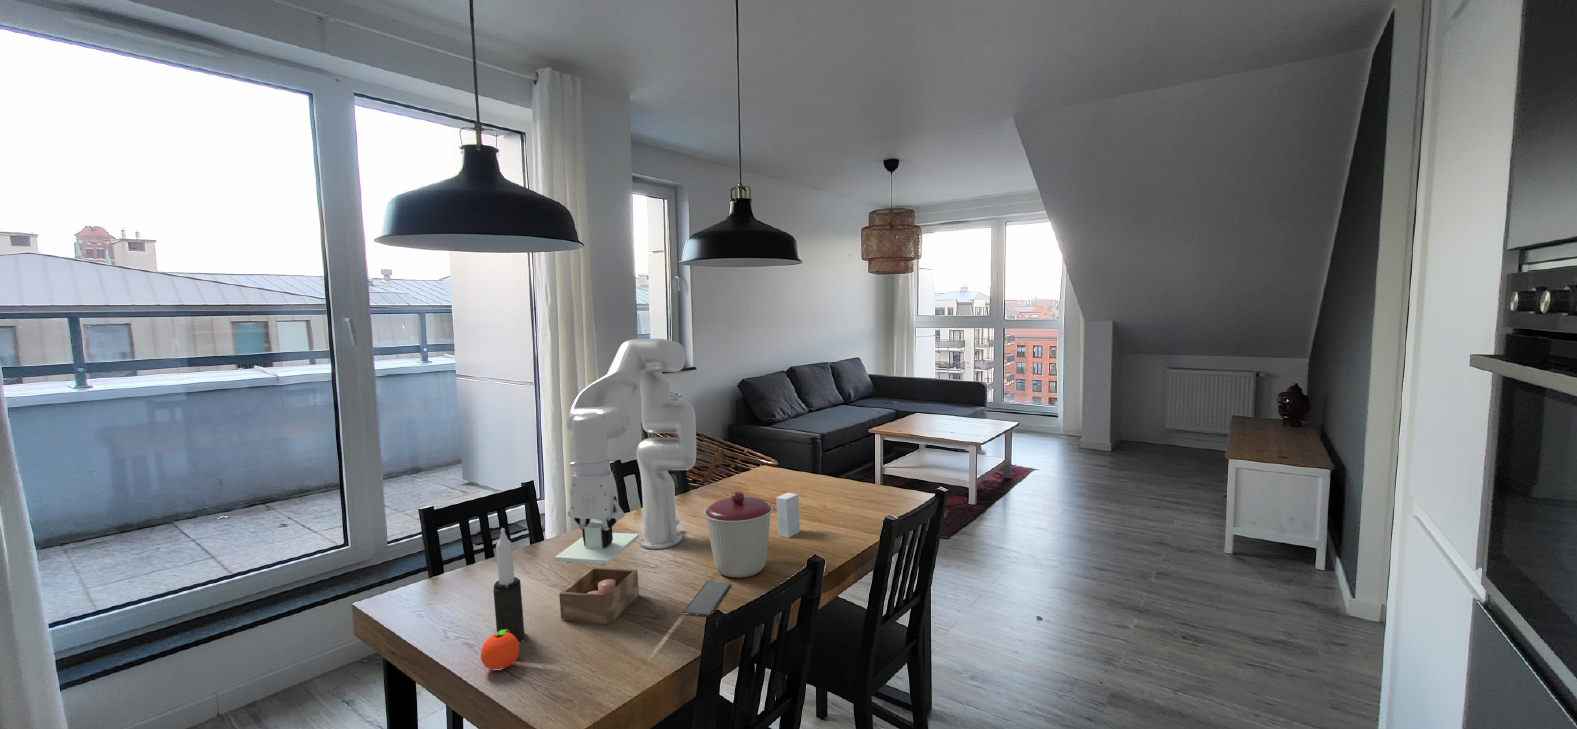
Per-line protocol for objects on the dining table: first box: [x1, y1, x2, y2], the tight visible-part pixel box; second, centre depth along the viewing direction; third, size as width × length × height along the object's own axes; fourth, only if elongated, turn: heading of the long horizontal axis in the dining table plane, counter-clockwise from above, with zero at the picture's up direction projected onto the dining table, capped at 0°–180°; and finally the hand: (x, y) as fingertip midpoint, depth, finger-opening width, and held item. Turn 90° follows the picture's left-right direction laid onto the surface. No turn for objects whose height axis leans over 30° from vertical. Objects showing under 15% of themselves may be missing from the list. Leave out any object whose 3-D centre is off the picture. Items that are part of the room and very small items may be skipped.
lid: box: [554, 520, 640, 566], centre depth 142 cm, size 15×13×7 cm
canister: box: [703, 491, 774, 579], centre depth 161 cm, size 18×18×21 cm
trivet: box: [682, 580, 731, 617], centre depth 147 cm, size 16×16×1 cm
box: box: [558, 566, 640, 625], centre depth 142 cm, size 14×12×7 cm
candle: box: [492, 527, 525, 643], centre depth 129 cm, size 5×5×25 cm
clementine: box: [480, 629, 520, 670], centre depth 121 cm, size 8×7×7 cm
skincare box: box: [776, 491, 801, 539], centre depth 186 cm, size 6×4×12 cm
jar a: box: [598, 579, 616, 595], centre depth 145 cm, size 4×4×4 cm
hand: (598, 543), depth 142 cm, fingers closed on lid, 4 cm apart
